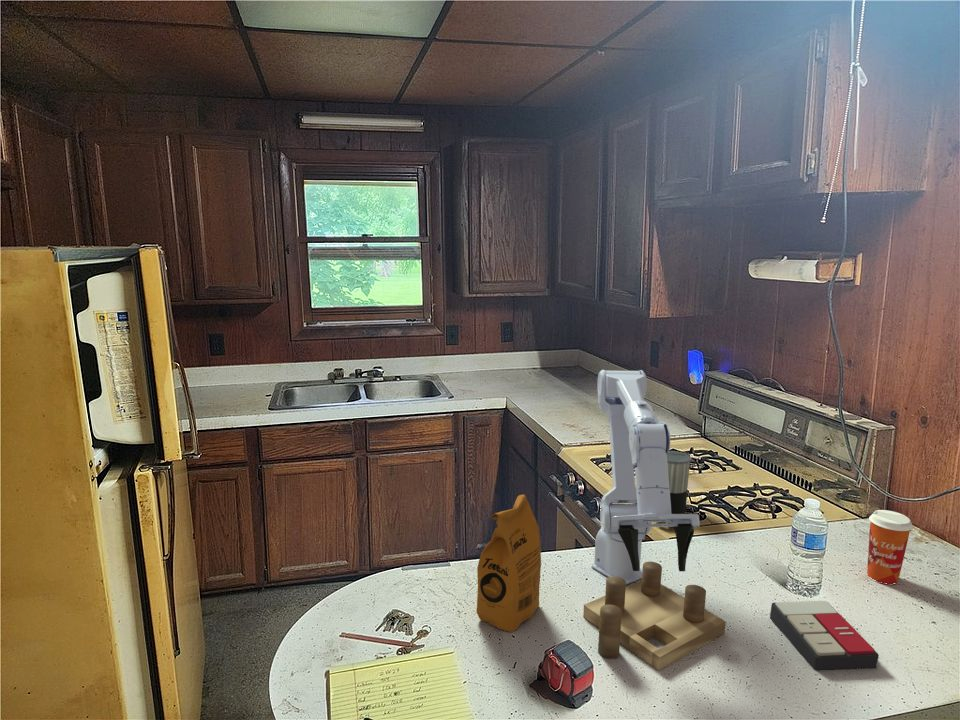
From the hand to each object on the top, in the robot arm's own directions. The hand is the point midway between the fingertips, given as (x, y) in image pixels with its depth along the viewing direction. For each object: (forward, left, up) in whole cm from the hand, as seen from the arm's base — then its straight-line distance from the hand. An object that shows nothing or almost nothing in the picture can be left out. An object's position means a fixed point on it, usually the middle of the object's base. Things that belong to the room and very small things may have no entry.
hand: (658, 571), depth 108 cm
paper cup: (+11, +60, -15) cm, 63 cm away
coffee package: (-23, -14, -15) cm, 31 cm away
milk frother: (-34, +46, -15) cm, 59 cm away
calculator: (+15, +27, -16) cm, 35 cm away
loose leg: (-4, -7, -15) cm, 17 cm away
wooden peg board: (-5, +6, -15) cm, 17 cm away
